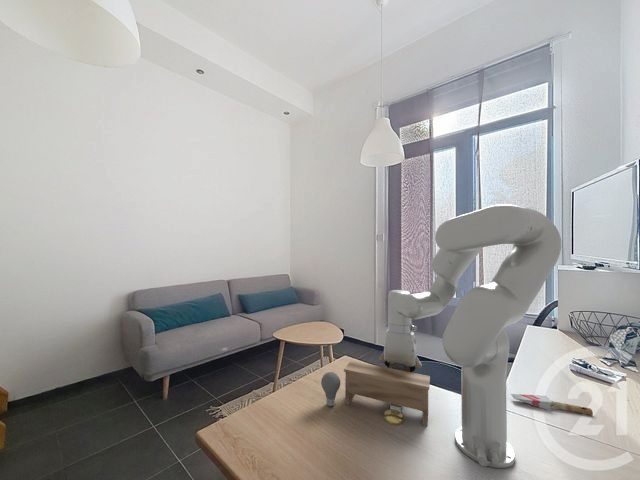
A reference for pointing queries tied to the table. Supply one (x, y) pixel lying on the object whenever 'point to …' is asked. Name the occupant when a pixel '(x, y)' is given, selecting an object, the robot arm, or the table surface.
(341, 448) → the table surface
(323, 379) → the light bulb
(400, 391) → the wooden bench
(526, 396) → the paintbrush
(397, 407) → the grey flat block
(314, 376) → the table surface
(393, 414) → the token
